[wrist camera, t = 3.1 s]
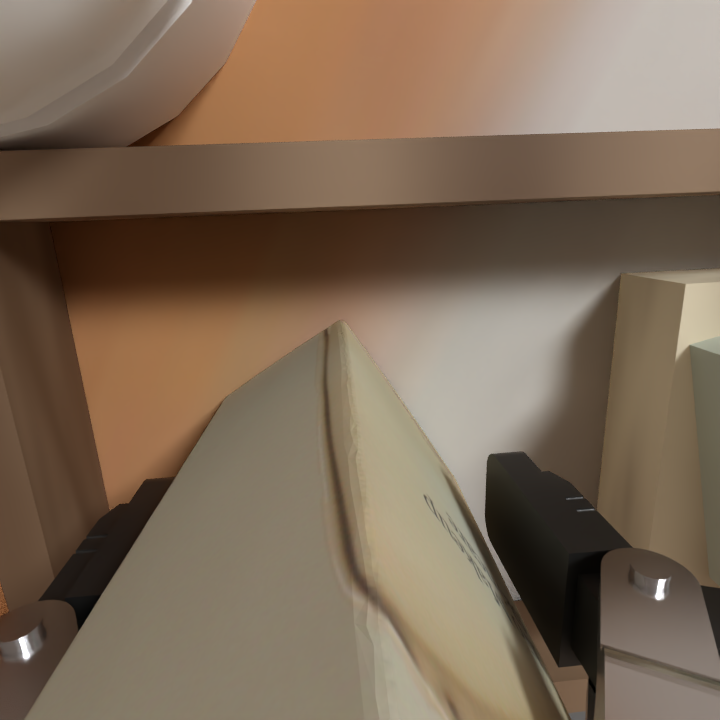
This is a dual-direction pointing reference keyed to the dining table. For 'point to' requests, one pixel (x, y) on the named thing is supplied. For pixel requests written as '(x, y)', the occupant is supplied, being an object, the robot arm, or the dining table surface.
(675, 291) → the offcut lower
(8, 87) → the honey pot
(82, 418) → the rack
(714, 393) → the offcut upper
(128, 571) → the skincare box
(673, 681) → the robot arm
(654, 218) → the dining table surface
